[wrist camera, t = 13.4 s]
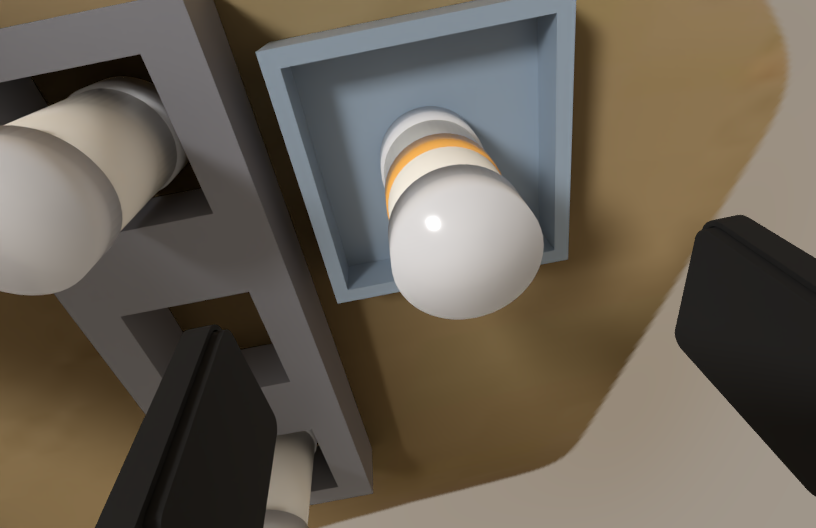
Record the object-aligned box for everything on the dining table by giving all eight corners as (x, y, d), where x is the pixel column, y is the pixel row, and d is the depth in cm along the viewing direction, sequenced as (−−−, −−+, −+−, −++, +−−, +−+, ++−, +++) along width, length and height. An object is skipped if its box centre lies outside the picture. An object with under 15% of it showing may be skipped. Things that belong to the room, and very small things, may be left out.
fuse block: (-48, 41, 15) (-128, 55, 13) (209, -12, 15) (179, -9, 13) (237, 474, 30) (226, 520, 27) (372, 449, 29) (373, 493, 27)
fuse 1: (58, 88, 16) (-150, 165, 10) (164, 66, 16) (29, 129, 10) (115, 188, 19) (-22, 307, 12) (210, 169, 19) (124, 279, 12)
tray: (268, 42, 16) (255, 52, 14) (548, -15, 16) (576, -13, 14) (339, 272, 22) (337, 303, 20) (547, 231, 22) (567, 259, 20)
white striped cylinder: (370, 116, 17) (376, 205, 11) (472, 96, 17) (543, 173, 11) (389, 208, 20) (405, 330, 13) (480, 191, 19) (543, 304, 13)
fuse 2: (241, 407, 26) (200, 555, 20) (308, 394, 26) (290, 539, 19) (264, 448, 28) (234, 594, 22) (326, 436, 28) (316, 580, 22)
